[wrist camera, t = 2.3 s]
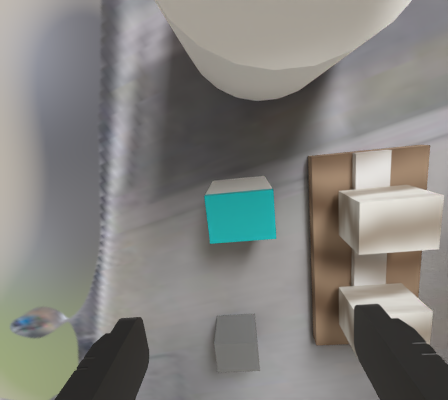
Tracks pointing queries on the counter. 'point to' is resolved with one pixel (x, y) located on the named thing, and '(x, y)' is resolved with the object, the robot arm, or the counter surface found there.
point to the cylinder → (273, 39)
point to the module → (240, 210)
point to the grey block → (236, 343)
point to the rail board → (337, 248)
